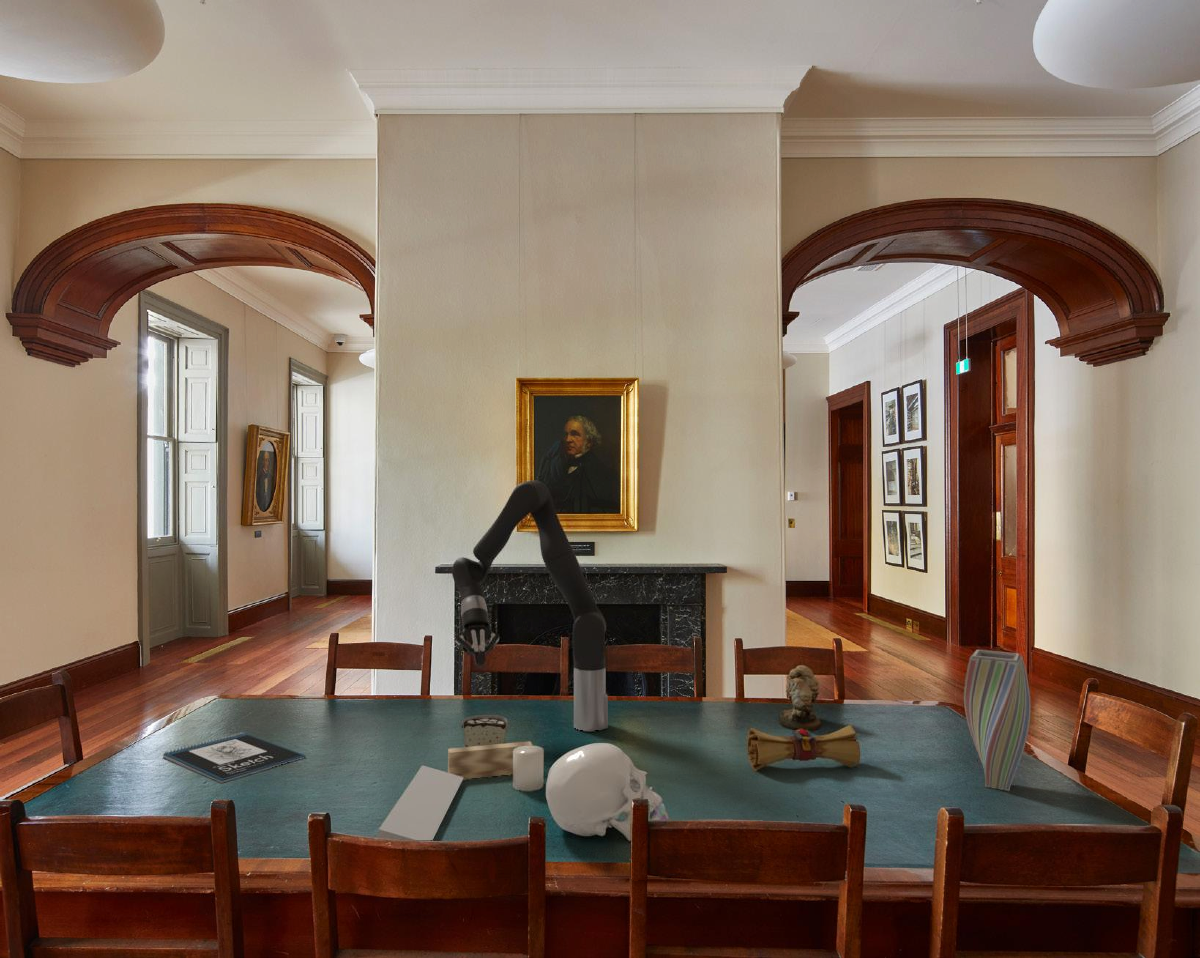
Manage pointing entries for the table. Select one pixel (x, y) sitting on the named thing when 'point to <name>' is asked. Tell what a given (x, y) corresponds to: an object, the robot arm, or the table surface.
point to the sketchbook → (232, 757)
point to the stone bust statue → (801, 700)
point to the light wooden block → (483, 760)
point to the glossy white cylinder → (528, 768)
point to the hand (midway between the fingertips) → (480, 665)
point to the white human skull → (597, 790)
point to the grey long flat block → (421, 806)
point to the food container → (484, 730)
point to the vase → (997, 712)
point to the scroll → (803, 747)
